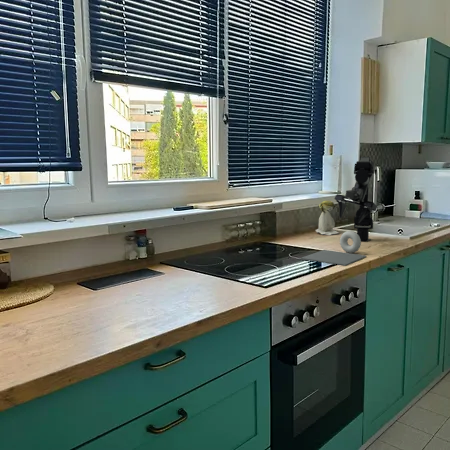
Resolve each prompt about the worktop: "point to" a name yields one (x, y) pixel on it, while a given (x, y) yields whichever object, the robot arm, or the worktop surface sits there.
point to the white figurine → (326, 218)
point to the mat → (334, 257)
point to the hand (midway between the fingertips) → (349, 220)
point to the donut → (344, 241)
